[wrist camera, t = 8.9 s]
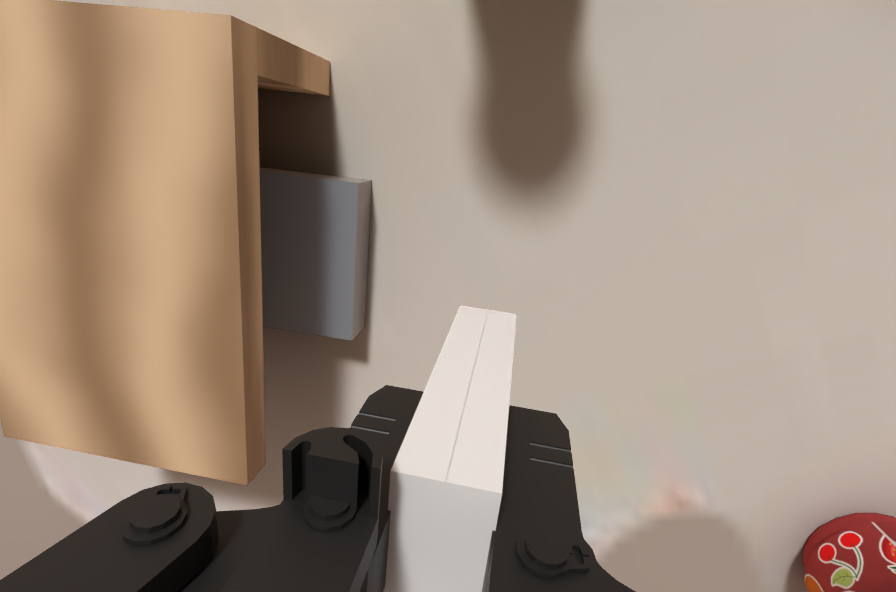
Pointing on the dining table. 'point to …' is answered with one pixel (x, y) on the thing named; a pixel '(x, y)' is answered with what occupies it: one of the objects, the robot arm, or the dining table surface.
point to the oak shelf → (136, 231)
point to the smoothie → (852, 555)
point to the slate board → (314, 252)
